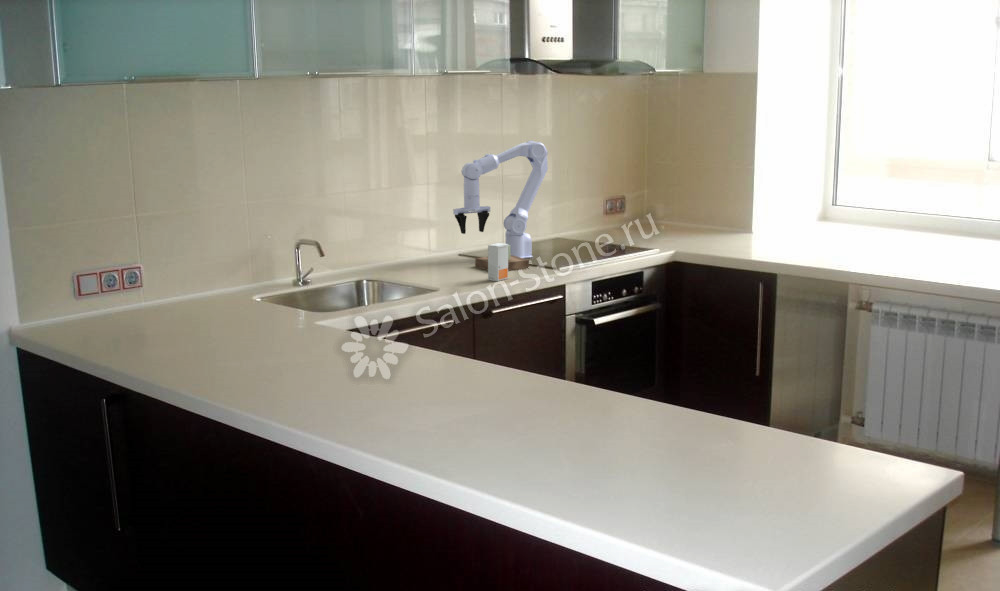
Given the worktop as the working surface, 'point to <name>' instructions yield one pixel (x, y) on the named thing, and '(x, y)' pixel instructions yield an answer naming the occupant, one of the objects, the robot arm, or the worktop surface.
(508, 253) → the sage block
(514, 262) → the walnut base
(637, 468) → the worktop surface
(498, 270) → the skincare box
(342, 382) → the worktop surface
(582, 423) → the worktop surface
